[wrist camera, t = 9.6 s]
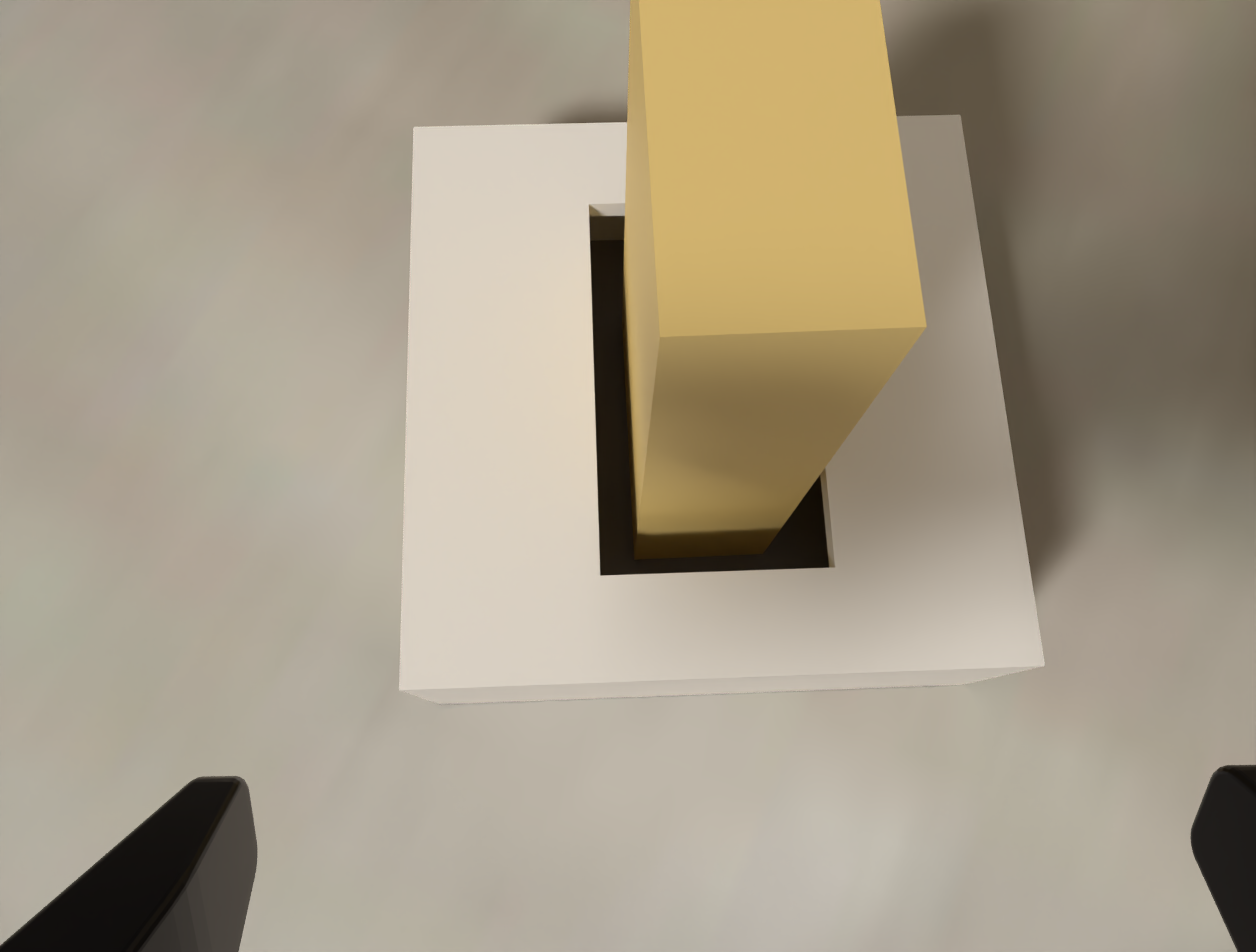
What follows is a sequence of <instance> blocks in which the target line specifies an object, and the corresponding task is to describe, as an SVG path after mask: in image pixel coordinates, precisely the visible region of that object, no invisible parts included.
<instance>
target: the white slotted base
mask: <svg viewBox="0 0 1256 952" xmlns="http://www.w3.org/2000/svg"><path fill="white" fill-rule="evenodd" d="M896 117H897V124H898V131H899V138H900V145H901V152H902V159H903V166H904V173H905V179H906V186H907V193H908V200H909V207H910V214H911V221H912V228H913V235H914V242H915V249H916V256H917V263H918V270H919V277H920V283H921V290H922V297H923V304H924V311H925V318H926V325H927V327H926V329H925V330H924V331H923V333H922V334H921V336H920V337H919V338H918V340H917V341H916V343H915V344H914V345H913V347H912V348H911V349H910V351H909V352H908V354H907V355H906V356H905V358H904V359H903V360H902V362H901V363H900V365H899V366H898V367H897V369H896V370H895V372H894V373H893V374H892V376H891V377H890V378H889V380H888V381H887V383H886V384H885V385H884V387H883V388H882V390H881V391H880V392H879V394H878V395H877V396H876V398H875V399H874V401H873V402H872V403H871V405H870V406H869V408H868V409H867V410H866V412H865V413H864V414H863V416H862V417H861V419H860V420H859V421H858V423H857V424H856V426H855V427H854V428H853V430H852V431H851V432H850V434H849V435H848V437H847V438H846V439H845V441H844V442H843V444H842V445H841V446H840V448H839V449H838V450H837V452H836V453H835V455H834V456H833V457H832V459H831V460H830V462H829V463H828V464H827V466H826V467H825V468H824V470H823V471H822V473H821V474H820V475H819V477H818V478H817V480H816V481H815V482H814V484H813V485H812V486H811V488H810V489H809V491H808V492H807V493H806V495H805V496H804V498H803V499H802V500H801V502H800V503H799V504H798V506H797V507H796V509H795V510H794V511H793V513H792V514H791V516H790V517H789V518H788V520H787V521H786V522H785V524H784V525H783V527H782V528H781V529H780V531H779V532H778V533H777V535H776V536H775V538H774V539H773V540H772V542H771V543H770V545H769V546H768V547H767V549H766V550H765V551H764V553H763V554H750V555H727V556H705V557H683V558H660V559H638V560H634V546H633V526H632V507H631V487H630V468H629V448H628V429H627V409H626V390H625V370H624V351H623V331H622V306H623V268H624V229H625V191H626V152H627V122H613V123H569V124H524V125H479V126H435V127H414V130H413V170H412V209H411V248H410V287H409V327H408V366H407V405H406V445H405V484H404V523H403V562H402V602H401V641H400V680H399V690H400V691H403V692H405V693H408V694H411V695H414V696H417V697H420V698H423V699H425V700H428V701H431V702H434V703H437V704H467V703H493V702H519V701H546V700H572V699H598V698H625V697H651V696H677V695H704V694H730V693H756V692H783V691H809V690H835V689H862V688H888V687H914V686H941V685H964V684H968V683H972V682H977V681H981V680H986V679H990V678H994V677H999V676H1003V675H1008V674H1012V673H1016V672H1021V671H1025V670H1030V669H1034V668H1039V667H1043V666H1045V663H1044V657H1043V650H1042V644H1041V637H1040V631H1039V624H1038V618H1037V611H1036V605H1035V598H1034V591H1033V585H1032V578H1031V572H1030V565H1029V559H1028V552H1027V546H1026V539H1025V533H1024V526H1023V520H1022V513H1021V507H1020V500H1019V494H1018V487H1017V480H1016V474H1015V467H1014V461H1013V454H1012V448H1011V441H1010V435H1009V428H1008V422H1007V415H1006V409H1005V402H1004V396H1003V389H1002V382H1001V376H1000V369H999V363H998V356H997V350H996V343H995V337H994V330H993V324H992V317H991V311H990V304H989V298H988V291H987V284H986V278H985V271H984V265H983V258H982V252H981V245H980V239H979V232H978V226H977V219H976V213H975V206H974V200H973V193H972V186H971V180H970V173H969V167H968V160H967V154H966V147H965V141H964V134H963V128H962V121H961V115H925V116H896Z"/></svg>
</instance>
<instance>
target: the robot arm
mask: <svg viewBox="0 0 1256 952" xmlns="http://www.w3.org/2000/svg"><path fill="white" fill-rule="evenodd" d="M1191 846H1192V850H1193V854H1194V857H1195V859H1196V861H1197V864H1198V866H1199V868H1200V870H1201V872H1202V875H1203V877H1204V879H1205V881H1206V883H1207V886H1208V888H1209V890H1210V892H1211V894H1212V897H1213V899H1214V901H1215V903H1216V905H1217V907H1218V910H1219V912H1220V914H1221V916H1222V918H1223V921H1224V923H1225V925H1226V927H1227V929H1228V932H1229V934H1230V936H1231V938H1232V940H1233V943H1234V945H1235V947H1236V949H1237V951H1238V952H1256V765H1227V766H1223V767H1220V768H1219V769H1218V770H1216V771H1215V772H1214V773H1213V775H1212V777H1211V779H1210V781H1209V784H1208V787H1207V789H1206V792H1205V794H1204V797H1203V799H1202V802H1201V805H1200V807H1199V810H1198V812H1197V815H1196V817H1195V820H1194V823H1193V825H1192V829H1191ZM256 866H257V840H256V834H255V827H254V821H253V814H252V807H251V801H250V794H249V789H248V786H247V784H246V782H245V780H244V779H242V778H241V777H238V776H211V777H199V778H196V779H194V780H192V781H191V782H189V783H188V784H187V785H186V786H184V787H183V788H182V789H181V790H180V791H179V792H178V793H176V794H175V795H174V796H173V797H172V798H171V799H169V800H168V801H167V802H166V803H165V804H164V805H162V806H161V807H160V808H159V809H158V810H157V811H156V812H154V813H153V814H152V815H151V816H150V817H149V818H147V819H146V820H145V821H144V822H143V823H142V824H140V825H139V826H138V827H137V828H136V829H135V830H134V831H132V832H131V833H130V834H129V835H128V836H127V837H125V838H124V839H123V840H122V841H121V842H120V843H118V844H117V845H116V846H115V847H114V848H113V849H112V850H110V851H109V852H108V853H107V854H106V855H105V856H103V857H102V858H101V859H100V860H99V861H98V862H96V863H95V864H94V865H93V866H92V867H91V868H90V869H88V870H87V871H86V872H85V873H84V874H83V875H81V876H80V877H79V878H78V879H77V880H76V881H74V882H73V883H72V884H71V885H70V886H69V887H67V888H66V889H65V890H64V891H63V892H62V893H61V894H59V895H58V896H57V897H56V898H55V899H54V900H52V901H51V902H50V903H49V904H48V905H47V906H45V907H44V908H43V909H42V910H41V911H40V912H39V913H37V914H36V915H35V916H34V917H33V918H32V919H30V920H29V921H28V922H27V923H26V924H25V925H23V926H22V927H21V928H20V929H19V930H18V931H17V932H15V933H14V934H13V935H12V936H11V937H10V938H8V939H7V940H6V941H5V942H4V943H3V944H1V945H0V952H238V951H239V947H240V942H241V938H242V933H243V928H244V924H245V919H246V915H247V910H248V905H249V901H250V896H251V892H252V887H253V882H254V878H255V873H256Z"/></svg>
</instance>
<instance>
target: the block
mask: <svg viewBox="0 0 1256 952" xmlns="http://www.w3.org/2000/svg"><path fill="white" fill-rule="evenodd" d="M926 327H927V325H926V318H925V311H924V304H923V297H922V290H921V283H920V277H919V270H918V263H917V256H916V249H915V242H914V235H913V228H912V221H911V214H910V207H909V200H908V193H907V186H906V179H905V173H904V166H903V159H902V152H901V145H900V138H899V131H898V124H897V117H896V110H895V103H894V96H893V89H892V82H891V76H890V69H889V62H888V55H887V48H886V41H885V34H884V27H883V20H882V13H881V6H880V0H630V37H629V75H628V114H627V152H626V191H625V229H624V268H623V306H622V331H623V351H624V370H625V390H626V409H627V429H628V448H629V468H630V487H631V507H632V526H633V546H634V560H638V559H660V558H683V557H705V556H727V555H750V554H763V553H764V551H765V550H766V549H767V547H768V546H769V545H770V543H771V542H772V540H773V539H774V538H775V536H776V535H777V533H778V532H779V531H780V529H781V528H782V527H783V525H784V524H785V522H786V521H787V520H788V518H789V517H790V516H791V514H792V513H793V511H794V510H795V509H796V507H797V506H798V504H799V503H800V502H801V500H802V499H803V498H804V496H805V495H806V493H807V492H808V491H809V489H810V488H811V486H812V485H813V484H814V482H815V481H816V480H817V478H818V477H819V475H820V474H821V473H822V471H823V470H824V468H825V467H826V466H827V464H828V463H829V462H830V460H831V459H832V457H833V456H834V455H835V453H836V452H837V450H838V449H839V448H840V446H841V445H842V444H843V442H844V441H845V439H846V438H847V437H848V435H849V434H850V432H851V431H852V430H853V428H854V427H855V426H856V424H857V423H858V421H859V420H860V419H861V417H862V416H863V414H864V413H865V412H866V410H867V409H868V408H869V406H870V405H871V403H872V402H873V401H874V399H875V398H876V396H877V395H878V394H879V392H880V391H881V390H882V388H883V387H884V385H885V384H886V383H887V381H888V380H889V378H890V377H891V376H892V374H893V373H894V372H895V370H896V369H897V367H898V366H899V365H900V363H901V362H902V360H903V359H904V358H905V356H906V355H907V354H908V352H909V351H910V349H911V348H912V347H913V345H914V344H915V343H916V341H917V340H918V338H919V337H920V336H921V334H922V333H923V331H924V330H925V329H926Z"/></svg>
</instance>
